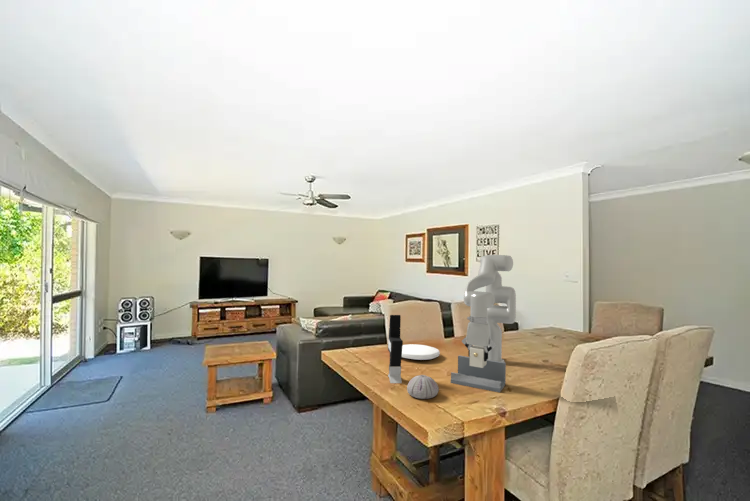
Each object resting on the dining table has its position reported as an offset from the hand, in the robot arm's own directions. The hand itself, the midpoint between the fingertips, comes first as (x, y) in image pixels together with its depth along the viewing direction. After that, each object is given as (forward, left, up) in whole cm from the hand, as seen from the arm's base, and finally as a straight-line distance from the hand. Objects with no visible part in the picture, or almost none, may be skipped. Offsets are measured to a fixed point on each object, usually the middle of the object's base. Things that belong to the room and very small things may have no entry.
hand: (478, 359), depth 168 cm
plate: (-27, -43, -12) cm, 52 cm away
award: (+16, -35, -11) cm, 40 cm away
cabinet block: (0, 0, -3) cm, 3 cm away
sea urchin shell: (+27, -16, -12) cm, 33 cm away
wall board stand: (0, 0, -11) cm, 11 cm away
